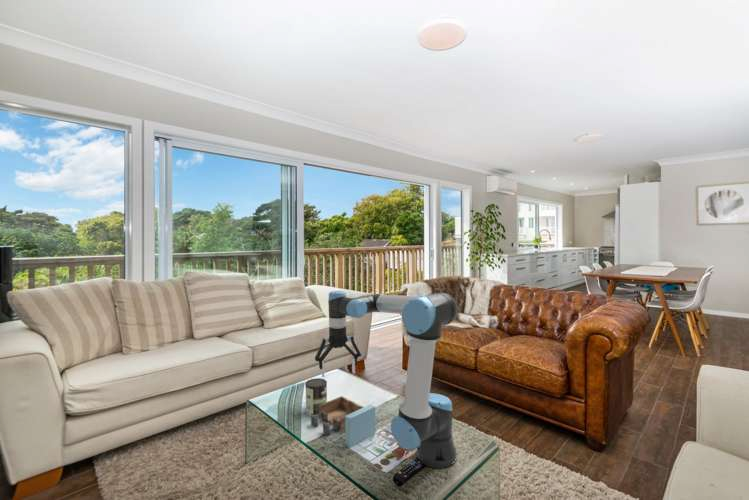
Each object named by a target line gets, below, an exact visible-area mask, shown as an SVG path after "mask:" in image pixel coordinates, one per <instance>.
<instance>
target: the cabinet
mask: <svg viewBox="0 0 749 500" xmlns="http://www.w3.org/2000/svg"><path fill="white" fill-rule="evenodd" d="M364 407H365V406H363V405H360V404H358V403H356V402H354V401H352V400H350V399H348V398H347V397H344V396H342V395H341V396H338V397H336V398H334V399H331V400H329V401H327V402H326V403H324V404H321V405H319V406H318V416H314V415H312V416H310V425H311V426H312V427H314V428H318V427H319V420H320V421H322V422H323V423H322V432H323V434H325V435H326V436H331V425H332V427H333V428H332V429H335V431H339V432H340V433H344V432H345V416H346V415H348V414H351V413H353V412H355V411H357V410H359V409H361V408H364Z"/></svg>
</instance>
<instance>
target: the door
mask: <svg viewBox="0 0 749 500" xmlns="http://www.w3.org/2000/svg"><path fill="white" fill-rule="evenodd" d="M363 407H364V408H361V409H359V410H357V411H355V412H353V413H351V414H348V415H346V416H345V431H344V432H345V436H344V437H345V446H347V447H348V448H352V447H354V446H356V445H358V444H360V443H362V442H364V441H366V440H367V439H369V438H371V437H373V436H374V435H376V406H374V405H372V404H368V405H365V406H363Z"/></svg>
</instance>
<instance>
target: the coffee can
mask: <svg viewBox="0 0 749 500" xmlns="http://www.w3.org/2000/svg"><path fill="white" fill-rule="evenodd" d="M327 384H328V381H327V380H326V379H324V378H311V379H308V380H306V381H305V382H304V385H305V413H306V415H308V416H310V417H311V416H312V415H314V416H316V417H318V406H319V405H321V404H324V403H326V402H328V398H327V397H328V392H327V391H328V388H327V387H328V386H327Z"/></svg>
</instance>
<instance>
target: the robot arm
mask: <svg viewBox="0 0 749 500" xmlns="http://www.w3.org/2000/svg"><path fill="white" fill-rule="evenodd" d="M327 301H328V326H329V327H328V331H329V332H328V338H325V337H322V339H321V343H320V346H319V347H318V350H317V352H316V354H315V357H314V361H315V362H318V367H319V370H321V377H322V378H325V362H324V360H325V358H326V357H327V356H328V354H330V352H331V351H332V350H333V349H341V348H343V347H344V348H345V349H346V350H347V351H348V352H349V353H350V354H351V355H352V356H351V372H352V373H353V374H356V366H357V365H358V358H359V357H361V356H362V353H361V352H360V349H359V348H358V346H357V344H356V343H355V339H354V338H355V337H354V336H353V335H349V336H347V317H351V318H354V319H355V318H357V319H360V318H363V317H364V316H365V315H366V314H371V313H386V314H396V315H401V322H402V324H403V327H404V328H405V330H406V334H407V336H408V337H409V338H410V342H409V352H408V359H407V360H408V361H407V368H406V369H407V371H406V381H405V389H404V400H402V401H401V402H400V403H399V405H398V415H396V416H395V417H394V418H392V420H391V422H390V431H391V434H392V437H393V438H394V441H395V442H396V443H397V444H398V445H399V446H400V447H401V448H403V449H405V450H406V451H407V450H408V451H413V450H415V449H416V457H417V460H418V461H419V462H420V463H421V464H423V463H424V464H423V465H425V466H428V467H430V468H435V469H444V468H449V467H451V466H452V465H451V464H452V463H453V462H454V461H455V459H456V457H457V456H458V455H457V449H456V446H455V443H454V438H453V403H452V401H451V399H450V398H449V397H448V396H445V395H443V394H439V393H433V392H431V385H432V376H433V370H434V369H433V368H434V360H435V351H436V350H435V349H436V343H437V342H438V341H439V340H440V339H441V338H442V329H443V327H446V326H448V325H450V324H452V323H453V322H454V320H455V319H457V316H458V312H459V307H458V303H457V301H456V299H455V298H454V297H453V296H452V295H450V294H449V293H446V292H436V293H428V294H427V295H402V294H401V295H398V294H397V295H396V294H395V295H394V294H384V293H375V294H369V295H365V296H364V295H363V296H358V297H347V294H346V292H345V291H344V290H333V291H330V292H329V293H328V300H327ZM348 341H349V342H350V343H351V344H352V347H353V349H354V350H355V351H353V350H352V349H351V347H350V346H349V345H348V344H347V342H348ZM327 343H329V344H328V346H327V348H326V349H324V348H325V346H326V344H327ZM323 350H324V351H323ZM355 352H356V353H355ZM457 458H458V457H457ZM456 460H457V459H456ZM450 465H451V466H450Z"/></svg>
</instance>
